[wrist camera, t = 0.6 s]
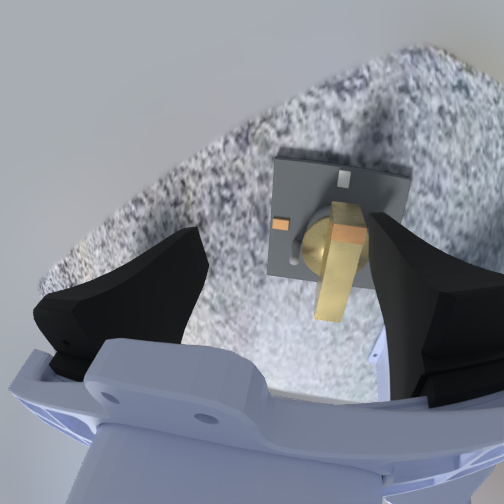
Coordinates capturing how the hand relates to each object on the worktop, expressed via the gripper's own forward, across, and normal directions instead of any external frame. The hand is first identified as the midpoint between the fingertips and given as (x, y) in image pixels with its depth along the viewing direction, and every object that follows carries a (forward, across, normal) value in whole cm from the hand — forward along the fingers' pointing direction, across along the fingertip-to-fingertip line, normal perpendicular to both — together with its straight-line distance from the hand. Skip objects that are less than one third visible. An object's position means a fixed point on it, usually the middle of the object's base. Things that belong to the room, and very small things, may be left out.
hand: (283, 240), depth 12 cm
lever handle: (+7, -2, +5) cm, 9 cm away
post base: (+10, -2, +5) cm, 12 cm away
